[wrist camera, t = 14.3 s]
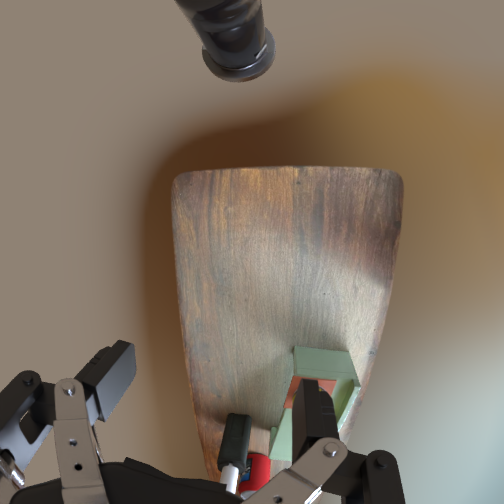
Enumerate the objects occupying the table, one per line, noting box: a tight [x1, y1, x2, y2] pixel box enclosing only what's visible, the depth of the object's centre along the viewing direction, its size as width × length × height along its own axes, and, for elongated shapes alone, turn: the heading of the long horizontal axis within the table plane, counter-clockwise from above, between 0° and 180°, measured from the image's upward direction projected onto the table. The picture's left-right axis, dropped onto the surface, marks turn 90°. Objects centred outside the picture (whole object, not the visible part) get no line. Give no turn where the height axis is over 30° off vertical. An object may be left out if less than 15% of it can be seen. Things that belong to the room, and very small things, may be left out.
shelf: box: [268, 346, 361, 461], centre depth 47 cm, size 24×10×10 cm, turn 172°
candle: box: [217, 413, 252, 494], centre depth 43 cm, size 5×5×25 cm
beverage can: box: [238, 454, 271, 500], centre depth 52 cm, size 7×7×12 cm
